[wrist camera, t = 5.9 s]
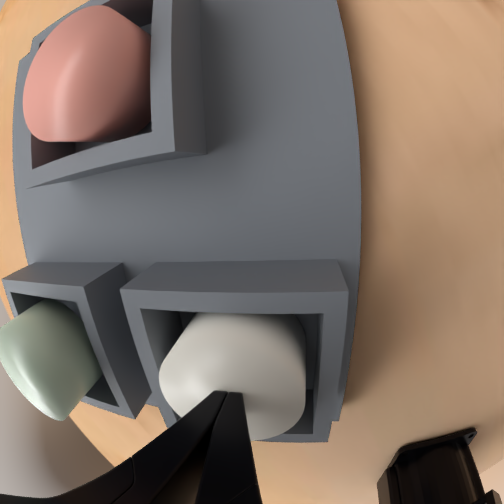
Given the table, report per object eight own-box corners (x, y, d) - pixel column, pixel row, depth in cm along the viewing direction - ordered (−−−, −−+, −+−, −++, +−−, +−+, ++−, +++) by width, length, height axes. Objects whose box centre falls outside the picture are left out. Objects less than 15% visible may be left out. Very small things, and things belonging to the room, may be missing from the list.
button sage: (83, 302, 9) (31, 342, 6) (117, 389, 10) (83, 434, 7) (26, 294, 10) (-18, 321, 7) (56, 369, 11) (23, 401, 8)
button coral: (171, 20, 7) (130, -17, 4) (173, 128, 8) (121, 117, 5) (80, 58, 8) (30, 43, 5) (78, 153, 9) (21, 157, 6)
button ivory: (306, 290, 9) (308, 342, 6) (303, 386, 10) (301, 443, 8) (181, 289, 10) (142, 334, 7) (201, 380, 11) (177, 430, 8)
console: (322, -29, 6) (326, -81, 3) (337, 406, 12) (341, 461, 9) (30, 63, 9) (-12, 56, 6) (80, 373, 15) (51, 404, 12)
